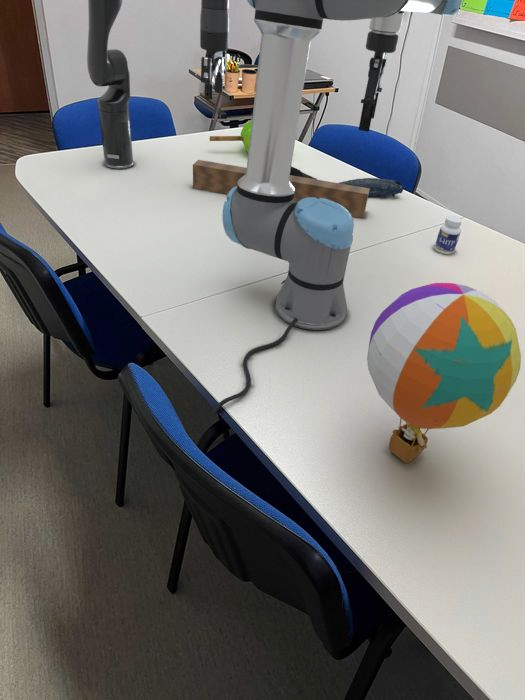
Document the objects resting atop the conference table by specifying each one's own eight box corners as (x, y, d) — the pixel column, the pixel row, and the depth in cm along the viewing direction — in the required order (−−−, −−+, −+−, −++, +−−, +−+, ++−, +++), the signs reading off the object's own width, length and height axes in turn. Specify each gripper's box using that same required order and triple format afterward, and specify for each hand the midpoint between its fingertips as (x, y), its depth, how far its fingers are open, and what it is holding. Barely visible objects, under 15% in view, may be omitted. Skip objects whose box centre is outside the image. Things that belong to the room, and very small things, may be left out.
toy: (317, 443, 83) (351, 282, 64) (393, 393, 94) (441, 242, 75) (417, 530, 72) (494, 366, 53) (490, 462, 83) (575, 305, 64)
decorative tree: (206, 116, 188) (287, 116, 194) (207, 146, 195) (285, 145, 200) (212, 130, 175) (298, 130, 180) (212, 162, 181) (296, 160, 186)
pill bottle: (433, 251, 139) (442, 220, 133) (435, 243, 143) (444, 213, 137) (453, 256, 138) (464, 225, 132) (454, 247, 142) (465, 217, 136)
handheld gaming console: (320, 175, 173) (310, 154, 164) (311, 192, 172) (300, 172, 163) (292, 170, 179) (281, 150, 171) (283, 187, 178) (271, 167, 169)
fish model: (402, 201, 164) (405, 185, 161) (336, 194, 165) (338, 178, 162) (400, 193, 170) (403, 178, 167) (335, 186, 171) (338, 171, 168)
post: (365, 212, 156) (369, 188, 152) (363, 218, 153) (368, 194, 148) (198, 182, 165) (198, 159, 160) (192, 188, 161) (192, 164, 156)
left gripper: (210, 23, 141) (209, 88, 151) (191, 29, 130) (192, 99, 140) (236, 27, 140) (234, 92, 150) (219, 33, 129) (218, 103, 139)
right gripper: (373, 24, 136) (357, 110, 150) (363, 36, 117) (346, 134, 130) (401, 28, 135) (383, 114, 148) (396, 40, 116) (376, 138, 129)
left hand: (213, 95), depth 145 cm, fingers open, 8 cm apart
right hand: (366, 123), depth 139 cm, fingers open, 13 cm apart
